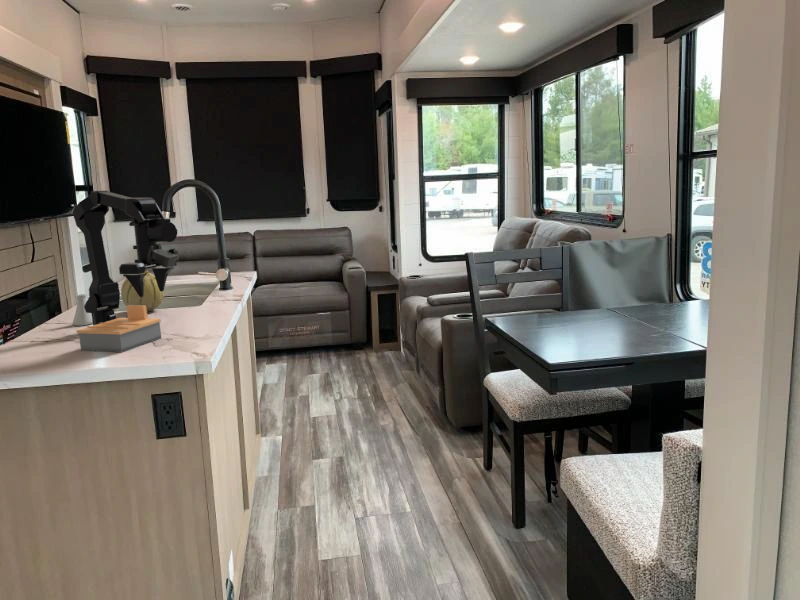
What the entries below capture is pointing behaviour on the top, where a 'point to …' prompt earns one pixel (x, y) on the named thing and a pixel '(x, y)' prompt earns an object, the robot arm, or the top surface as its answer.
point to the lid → (123, 322)
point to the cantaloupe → (151, 293)
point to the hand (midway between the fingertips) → (151, 294)
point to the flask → (82, 312)
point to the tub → (120, 339)
